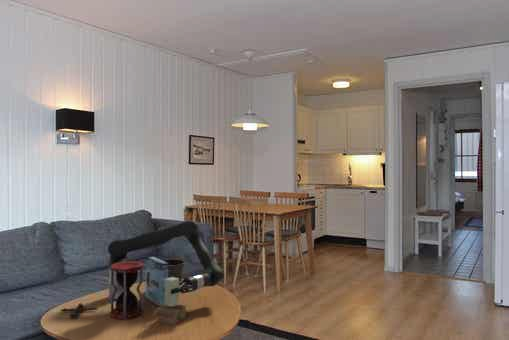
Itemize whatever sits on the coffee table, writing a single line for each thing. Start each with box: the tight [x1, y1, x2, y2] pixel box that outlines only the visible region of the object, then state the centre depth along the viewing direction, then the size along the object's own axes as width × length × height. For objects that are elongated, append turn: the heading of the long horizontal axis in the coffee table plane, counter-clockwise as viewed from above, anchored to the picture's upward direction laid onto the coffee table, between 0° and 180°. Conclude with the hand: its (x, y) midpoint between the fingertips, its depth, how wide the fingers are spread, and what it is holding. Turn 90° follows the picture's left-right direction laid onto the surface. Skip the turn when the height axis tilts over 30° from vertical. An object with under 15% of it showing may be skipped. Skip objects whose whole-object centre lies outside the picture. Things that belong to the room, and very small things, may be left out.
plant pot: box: [161, 258, 186, 282], centre depth 255 cm, size 16×16×16 cm
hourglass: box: [109, 261, 144, 320], centre depth 210 cm, size 16×16×25 cm
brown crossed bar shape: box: [60, 302, 99, 320], centre depth 210 cm, size 18×4×14 cm
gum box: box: [144, 256, 169, 307], centre depth 230 cm, size 20×5×23 cm, turn 37°
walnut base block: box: [156, 303, 187, 325], centre depth 203 cm, size 10×10×6 cm
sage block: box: [164, 277, 180, 305], centre depth 203 cm, size 5×5×12 cm
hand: (167, 290), depth 201 cm, fingers closed on sage block, 5 cm apart
